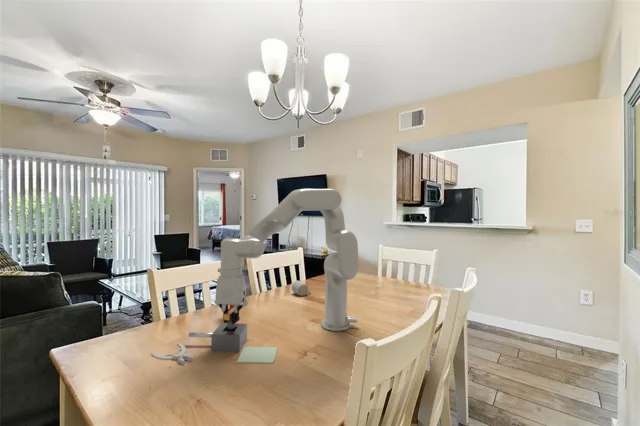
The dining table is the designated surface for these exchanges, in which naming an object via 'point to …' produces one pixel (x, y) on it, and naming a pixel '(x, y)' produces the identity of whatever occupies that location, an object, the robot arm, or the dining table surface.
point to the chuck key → (229, 320)
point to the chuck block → (225, 338)
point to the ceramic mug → (300, 288)
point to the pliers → (179, 357)
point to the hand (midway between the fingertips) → (231, 321)
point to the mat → (257, 355)
